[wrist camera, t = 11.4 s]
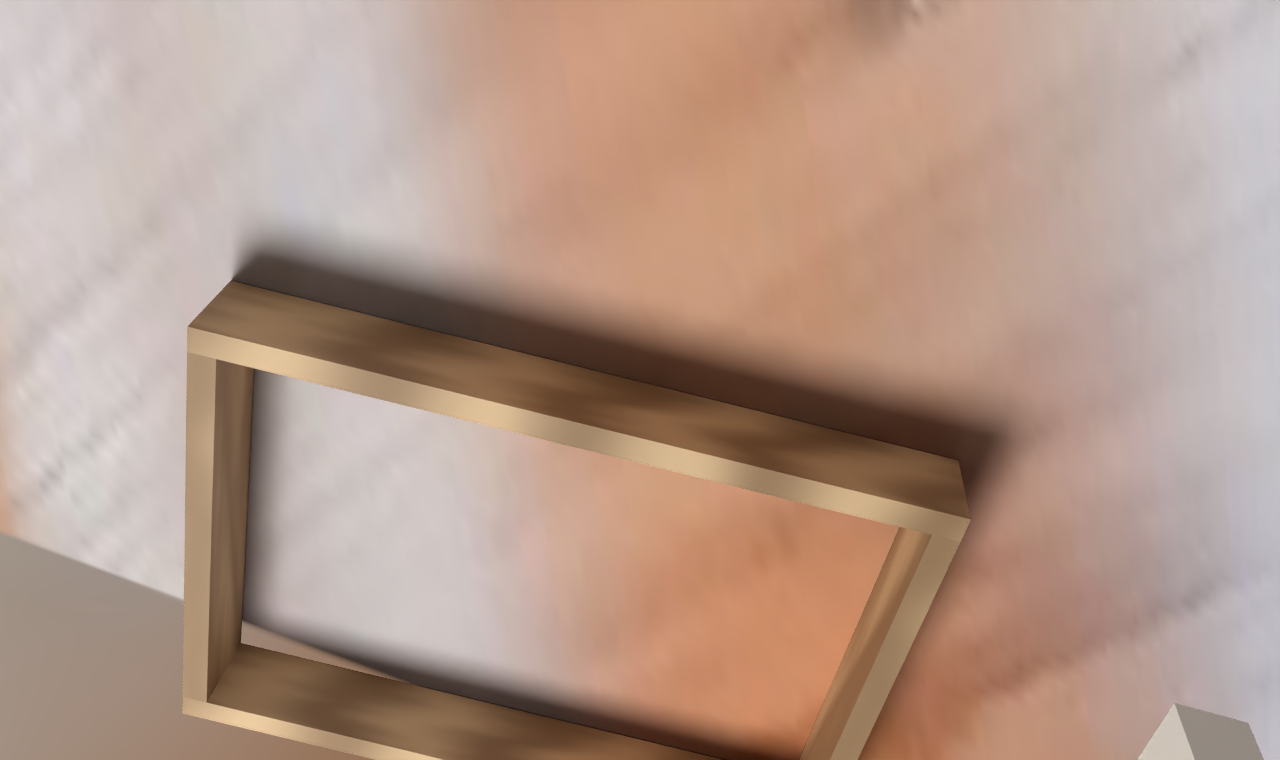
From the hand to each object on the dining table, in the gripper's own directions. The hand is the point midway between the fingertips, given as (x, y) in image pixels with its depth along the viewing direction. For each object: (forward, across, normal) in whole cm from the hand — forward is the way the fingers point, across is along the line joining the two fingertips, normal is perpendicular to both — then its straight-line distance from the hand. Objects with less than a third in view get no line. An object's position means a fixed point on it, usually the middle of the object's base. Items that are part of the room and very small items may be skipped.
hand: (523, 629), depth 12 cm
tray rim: (+27, +1, +22) cm, 35 cm away
